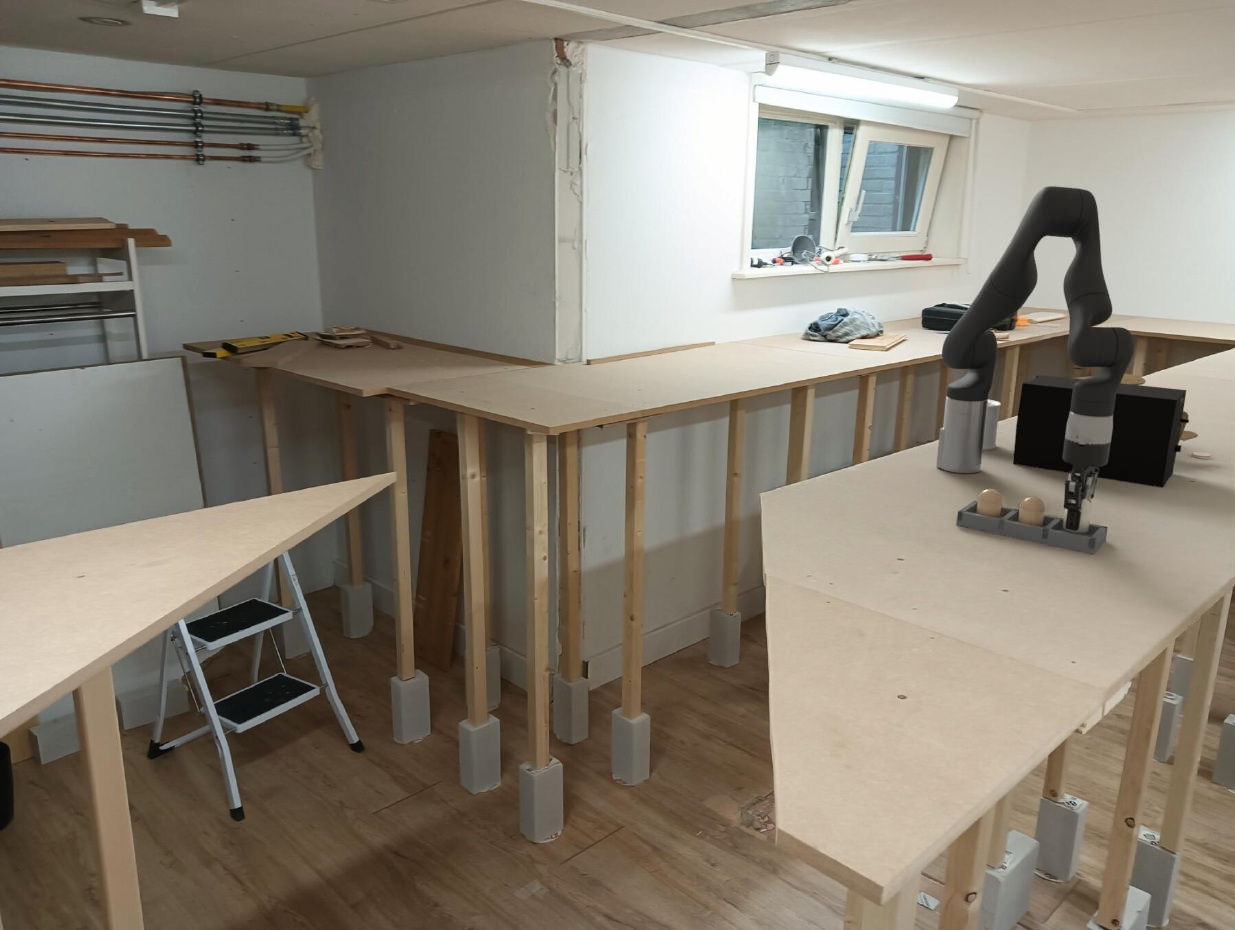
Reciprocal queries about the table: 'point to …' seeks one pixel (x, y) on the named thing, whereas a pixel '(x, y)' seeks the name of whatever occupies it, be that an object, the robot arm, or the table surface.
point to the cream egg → (1084, 517)
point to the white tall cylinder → (991, 425)
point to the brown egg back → (989, 503)
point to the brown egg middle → (1032, 511)
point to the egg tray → (1033, 529)
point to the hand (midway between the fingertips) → (1075, 525)
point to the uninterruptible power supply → (1137, 435)
